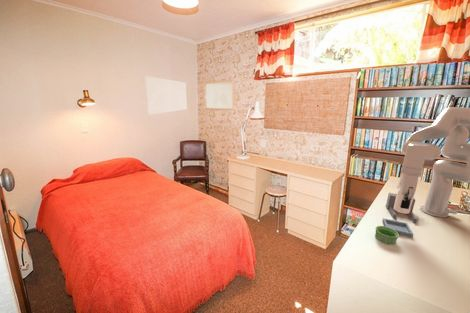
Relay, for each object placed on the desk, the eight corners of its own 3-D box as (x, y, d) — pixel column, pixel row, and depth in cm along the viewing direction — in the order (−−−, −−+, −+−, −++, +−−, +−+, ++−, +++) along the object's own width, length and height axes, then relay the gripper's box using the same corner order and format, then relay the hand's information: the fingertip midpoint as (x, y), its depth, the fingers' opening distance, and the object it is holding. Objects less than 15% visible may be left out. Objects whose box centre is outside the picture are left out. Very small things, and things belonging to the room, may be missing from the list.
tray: (406, 226, 115) (407, 223, 115) (412, 237, 106) (413, 234, 105) (382, 221, 119) (383, 218, 119) (386, 231, 110) (387, 228, 109)
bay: (409, 210, 133) (413, 196, 131) (418, 223, 119) (422, 208, 116) (385, 206, 138) (388, 192, 135) (391, 218, 123) (394, 203, 121)
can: (412, 215, 106) (418, 191, 103) (397, 213, 107) (403, 189, 104) (405, 208, 112) (410, 186, 109) (390, 207, 114) (396, 184, 111)
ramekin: (369, 236, 106) (371, 227, 105) (382, 232, 110) (384, 224, 108) (388, 247, 98) (390, 238, 97) (401, 243, 102) (403, 234, 100)
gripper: (397, 164, 114) (389, 197, 118) (406, 174, 99) (397, 211, 103) (415, 166, 111) (406, 200, 116) (428, 177, 96) (417, 215, 100)
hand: (402, 204), depth 109 cm, fingers closed on can, 6 cm apart
